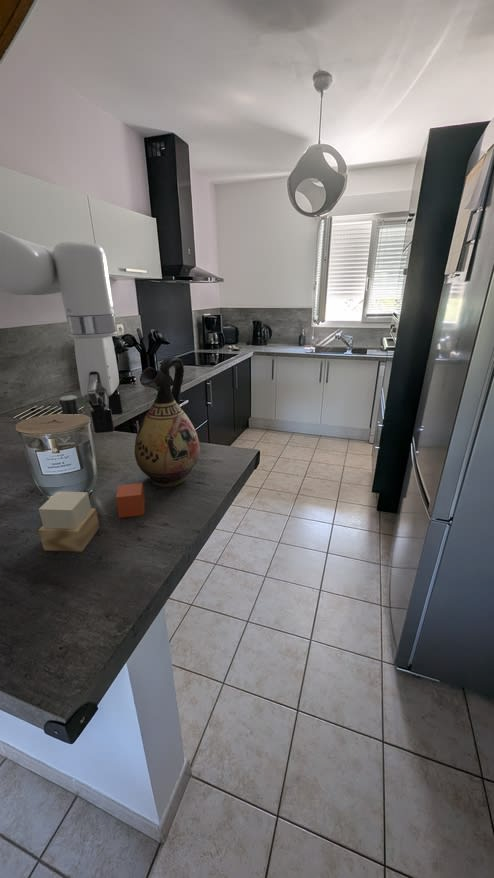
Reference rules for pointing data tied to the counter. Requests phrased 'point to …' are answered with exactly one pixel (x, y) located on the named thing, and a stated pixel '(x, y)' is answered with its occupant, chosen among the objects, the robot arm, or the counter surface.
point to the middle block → (65, 510)
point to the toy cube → (130, 500)
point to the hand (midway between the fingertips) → (109, 422)
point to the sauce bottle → (69, 404)
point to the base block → (70, 535)
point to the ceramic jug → (166, 429)
